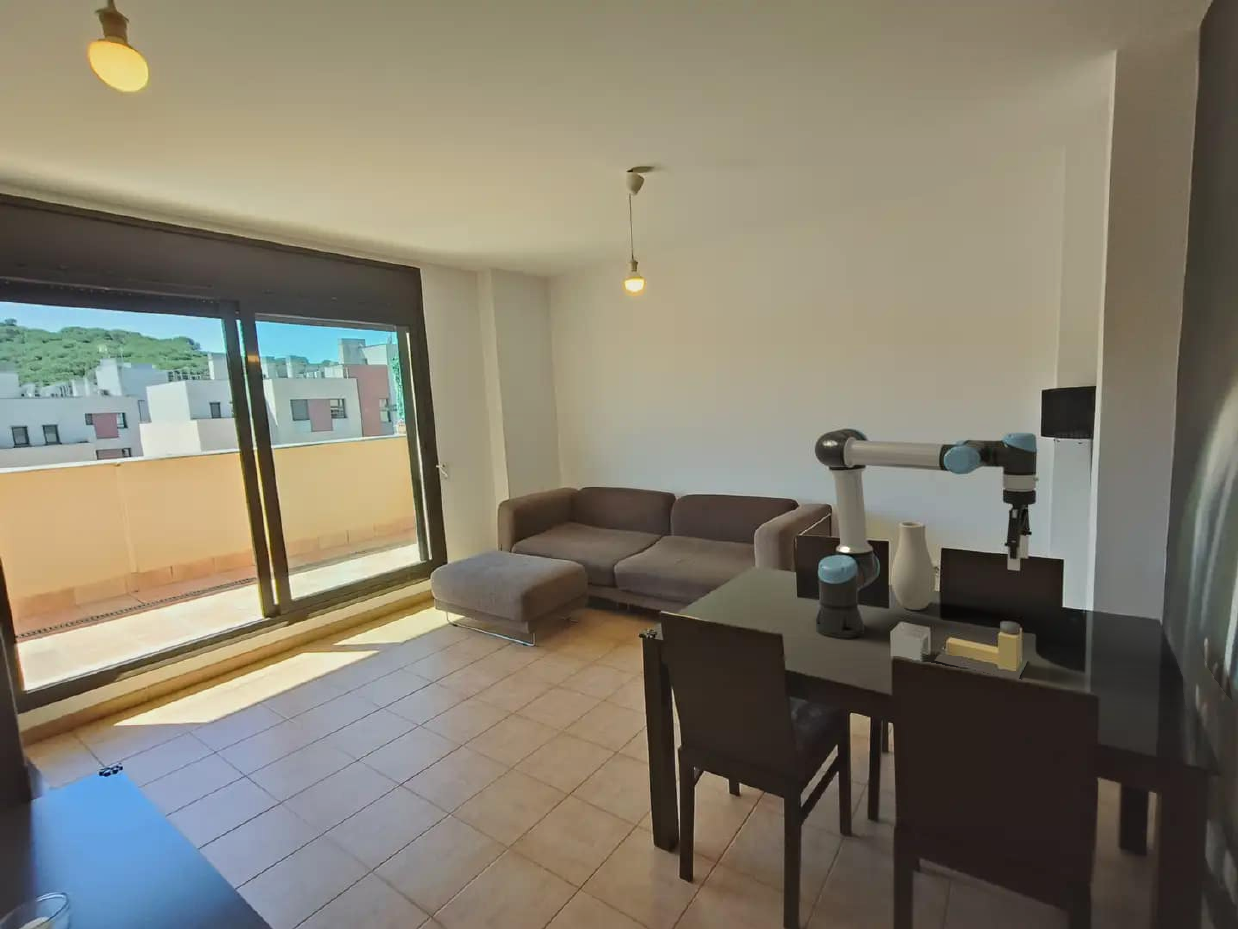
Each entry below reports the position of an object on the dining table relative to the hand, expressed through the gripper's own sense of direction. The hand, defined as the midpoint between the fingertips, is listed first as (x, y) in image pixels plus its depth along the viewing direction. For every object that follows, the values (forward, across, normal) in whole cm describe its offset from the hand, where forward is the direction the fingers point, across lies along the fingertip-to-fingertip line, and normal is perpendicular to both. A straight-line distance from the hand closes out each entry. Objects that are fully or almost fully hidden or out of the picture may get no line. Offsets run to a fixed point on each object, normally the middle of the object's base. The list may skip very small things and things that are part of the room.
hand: (1018, 563), depth 161 cm
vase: (+27, +21, +33) cm, 48 cm away
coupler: (+26, -12, +7) cm, 29 cm away
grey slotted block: (+26, -18, +23) cm, 39 cm away
